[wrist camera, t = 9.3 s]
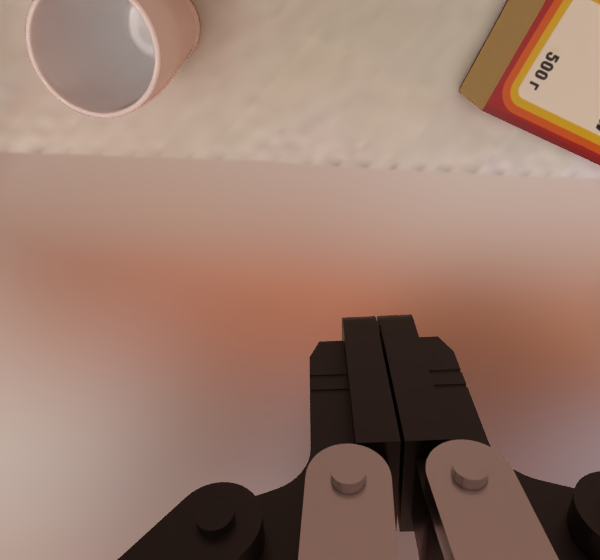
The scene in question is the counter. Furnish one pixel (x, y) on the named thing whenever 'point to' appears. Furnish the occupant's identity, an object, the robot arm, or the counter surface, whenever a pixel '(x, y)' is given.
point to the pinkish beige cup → (109, 50)
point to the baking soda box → (543, 72)
